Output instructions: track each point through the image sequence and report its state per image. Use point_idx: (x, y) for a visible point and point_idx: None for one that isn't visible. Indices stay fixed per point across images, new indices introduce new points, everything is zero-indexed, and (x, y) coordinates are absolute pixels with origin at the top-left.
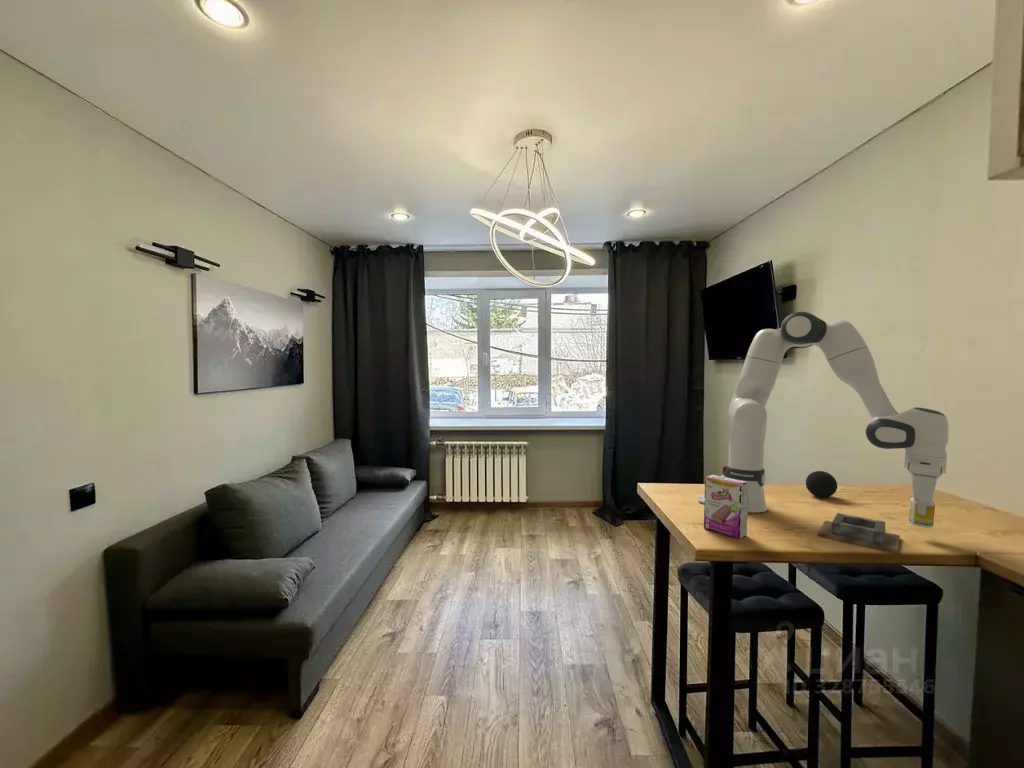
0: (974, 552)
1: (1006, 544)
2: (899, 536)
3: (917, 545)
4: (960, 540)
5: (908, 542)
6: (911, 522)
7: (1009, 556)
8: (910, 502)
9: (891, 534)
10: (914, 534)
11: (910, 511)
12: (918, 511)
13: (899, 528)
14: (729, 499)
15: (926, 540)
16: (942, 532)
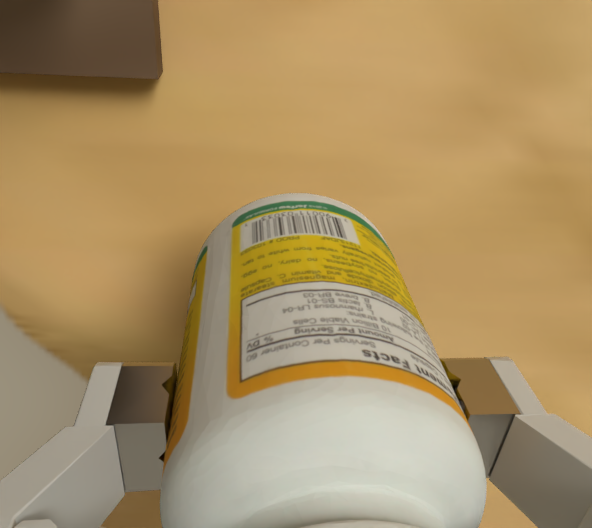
0: None
1: (482, 519)
2: (105, 76)
3: (75, 193)
4: None
5: (103, 136)
6: (223, 220)
7: None
8: (282, 364)
9: (117, 4)
10: (394, 178)
11: (255, 276)
12: (90, 389)
13: (520, 73)
14: None
15: None
16: (561, 324)
